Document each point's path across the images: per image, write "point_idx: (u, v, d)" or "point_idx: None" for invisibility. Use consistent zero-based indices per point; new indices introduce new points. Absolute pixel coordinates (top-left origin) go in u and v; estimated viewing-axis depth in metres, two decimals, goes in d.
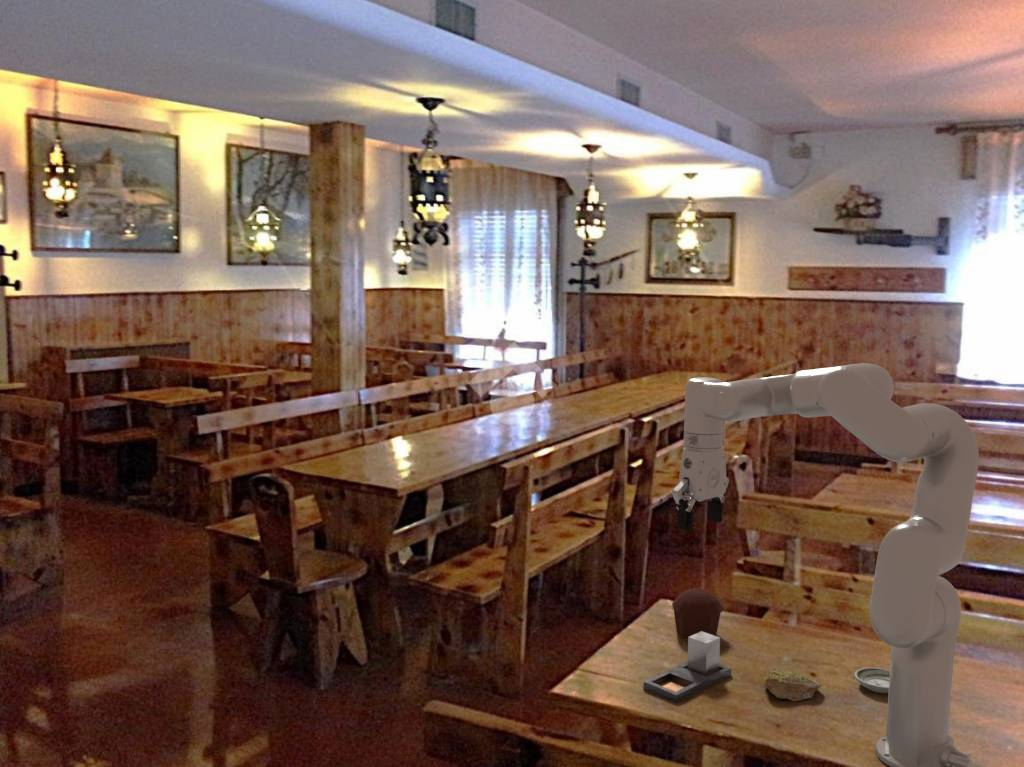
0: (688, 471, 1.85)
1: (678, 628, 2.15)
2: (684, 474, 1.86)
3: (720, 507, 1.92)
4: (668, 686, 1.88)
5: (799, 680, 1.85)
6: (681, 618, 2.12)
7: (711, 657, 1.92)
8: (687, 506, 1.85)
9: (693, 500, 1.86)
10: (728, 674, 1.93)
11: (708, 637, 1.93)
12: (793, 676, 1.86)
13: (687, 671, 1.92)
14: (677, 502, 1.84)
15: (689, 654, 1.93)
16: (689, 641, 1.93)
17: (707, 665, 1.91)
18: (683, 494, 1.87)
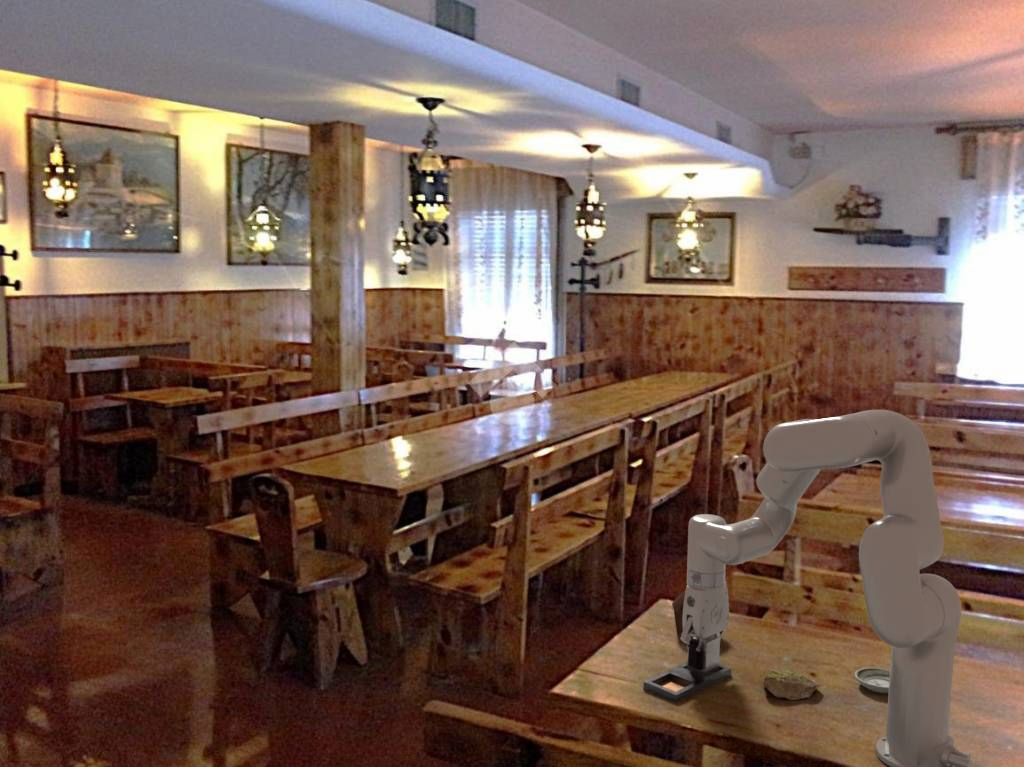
0: (691, 609, 1.89)
1: (678, 628, 2.15)
2: (688, 611, 1.89)
3: None
4: (668, 686, 1.88)
5: (798, 679, 1.86)
6: (681, 618, 2.12)
7: (711, 657, 1.92)
8: (697, 647, 1.90)
9: (701, 639, 1.90)
10: (728, 674, 1.93)
11: (708, 637, 1.93)
12: (792, 675, 1.87)
13: (687, 671, 1.92)
14: (688, 644, 1.89)
15: None
16: None
17: (706, 665, 1.91)
18: None
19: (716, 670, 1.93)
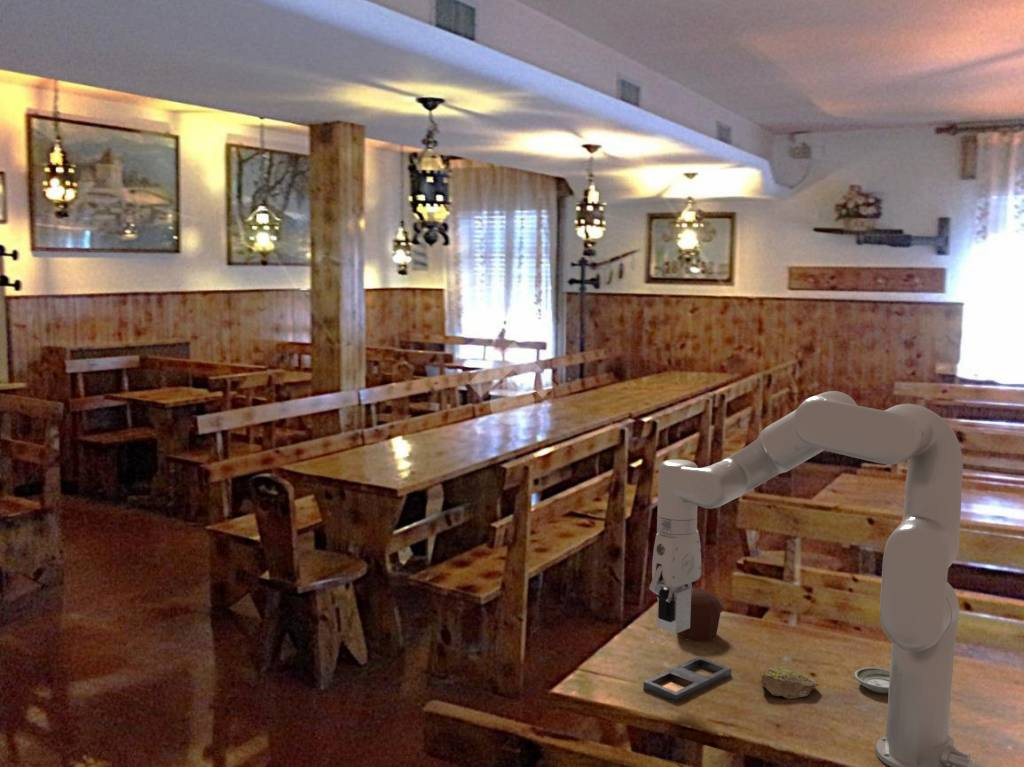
0: (661, 557, 1.80)
1: None
2: (657, 560, 1.81)
3: None
4: (668, 686, 1.88)
5: (796, 678, 1.86)
6: None
7: (682, 608, 1.83)
8: (667, 597, 1.81)
9: (671, 589, 1.82)
10: (728, 674, 1.93)
11: (679, 588, 1.84)
12: (790, 674, 1.87)
13: (687, 671, 1.92)
14: (657, 594, 1.81)
15: None
16: None
17: (677, 616, 1.82)
18: None
19: (687, 622, 1.85)
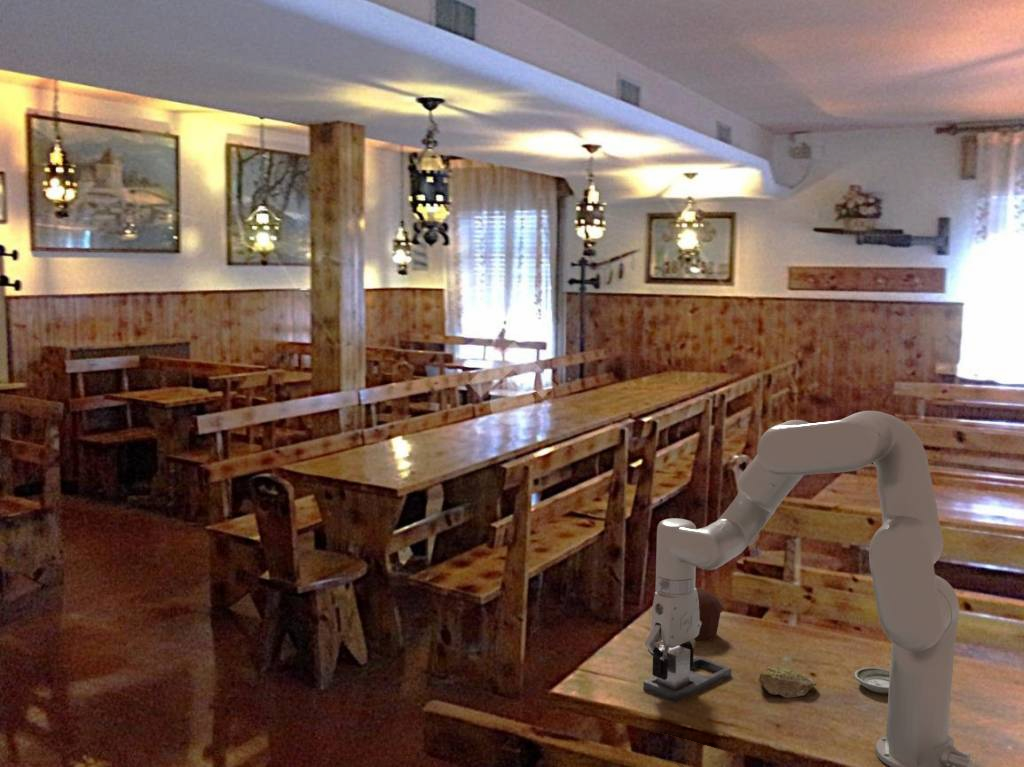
0: (660, 617, 1.82)
1: None
2: (656, 619, 1.82)
3: (691, 652, 1.88)
4: None
5: (794, 677, 1.87)
6: None
7: (681, 670, 1.85)
8: (662, 655, 1.82)
9: (667, 647, 1.82)
10: (728, 674, 1.93)
11: (678, 650, 1.86)
12: (789, 673, 1.88)
13: None
14: (651, 651, 1.81)
15: None
16: None
17: (676, 678, 1.84)
18: None
19: (686, 684, 1.86)
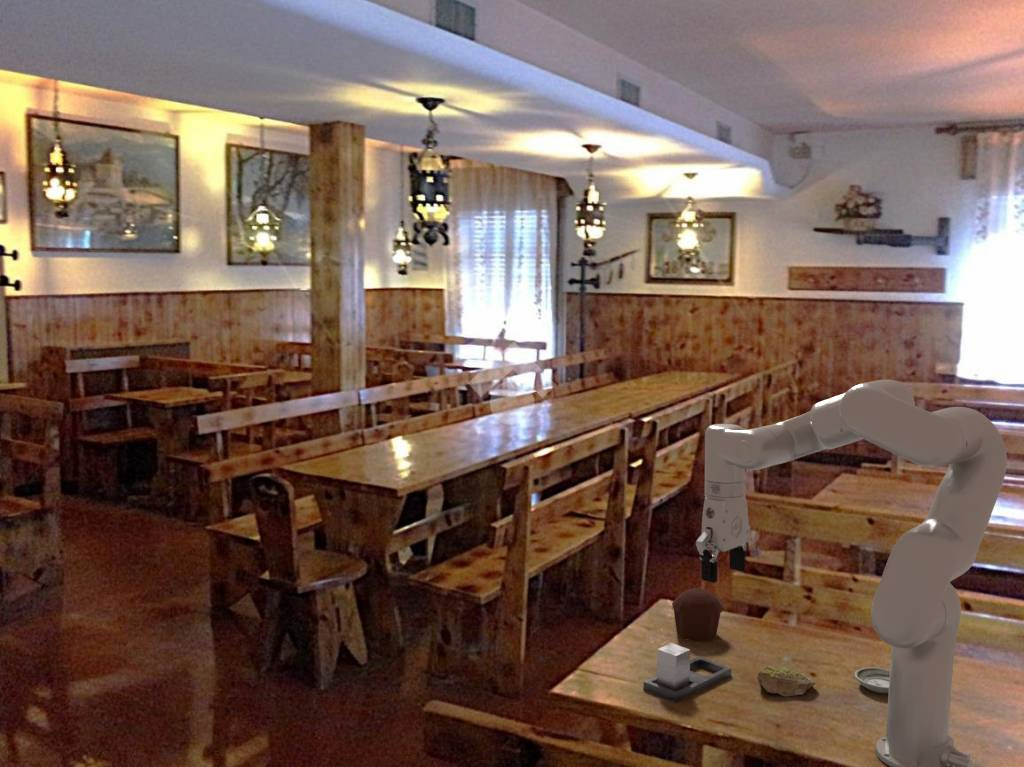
0: (711, 521, 1.81)
1: (678, 628, 2.15)
2: (707, 523, 1.82)
3: (743, 555, 1.88)
4: None
5: (793, 676, 1.87)
6: (681, 618, 2.12)
7: (681, 670, 1.85)
8: (712, 556, 1.81)
9: (717, 550, 1.81)
10: (728, 674, 1.93)
11: (678, 650, 1.86)
12: (787, 672, 1.88)
13: None
14: (701, 553, 1.80)
15: (658, 667, 1.86)
16: (658, 653, 1.86)
17: (676, 678, 1.84)
18: (706, 544, 1.83)
19: (686, 684, 1.86)
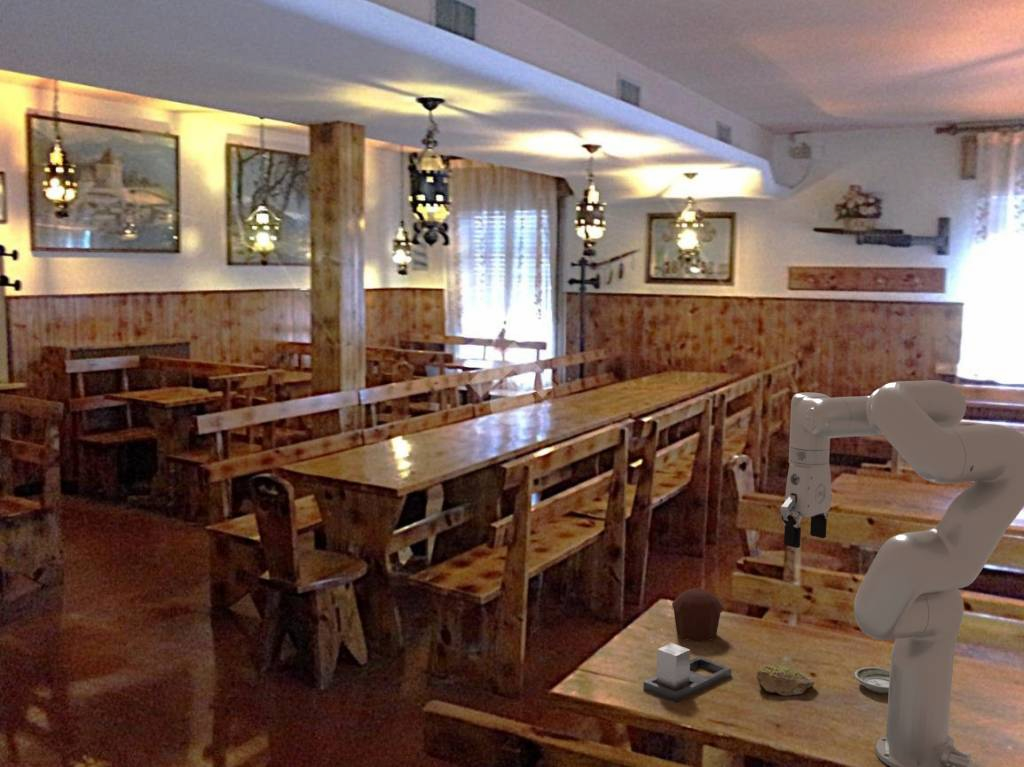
0: (796, 487, 1.84)
1: (678, 628, 2.15)
2: (792, 490, 1.85)
3: (824, 523, 1.91)
4: None
5: (792, 676, 1.87)
6: (681, 618, 2.12)
7: (681, 670, 1.85)
8: (795, 522, 1.84)
9: (801, 516, 1.85)
10: (728, 674, 1.93)
11: (678, 650, 1.86)
12: (787, 671, 1.89)
13: None
14: (785, 518, 1.83)
15: (658, 667, 1.86)
16: (658, 653, 1.86)
17: (676, 678, 1.84)
18: (790, 510, 1.86)
19: (686, 684, 1.86)
